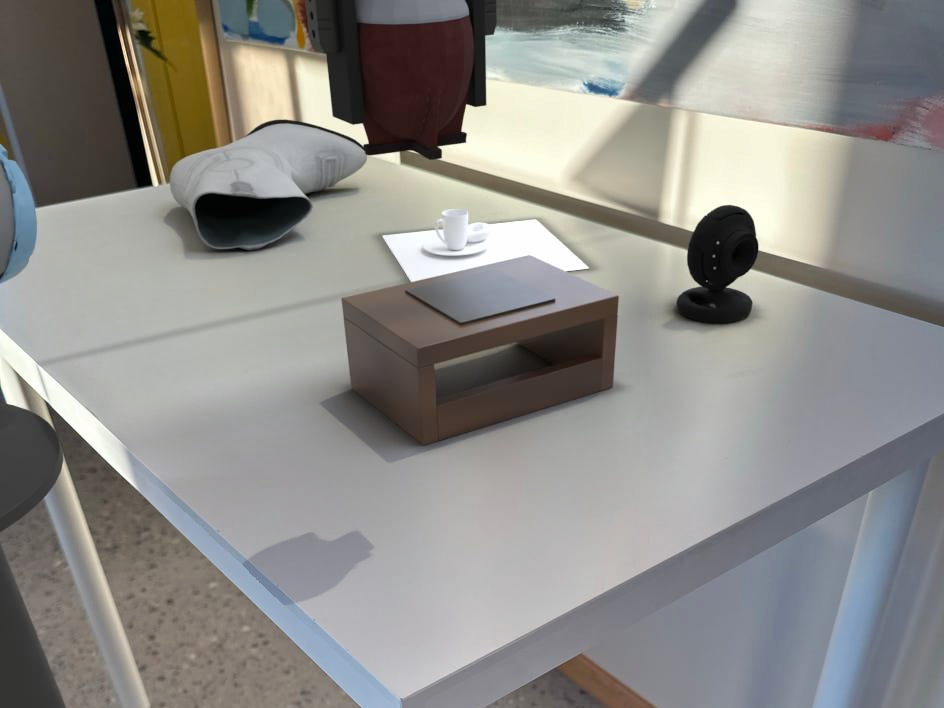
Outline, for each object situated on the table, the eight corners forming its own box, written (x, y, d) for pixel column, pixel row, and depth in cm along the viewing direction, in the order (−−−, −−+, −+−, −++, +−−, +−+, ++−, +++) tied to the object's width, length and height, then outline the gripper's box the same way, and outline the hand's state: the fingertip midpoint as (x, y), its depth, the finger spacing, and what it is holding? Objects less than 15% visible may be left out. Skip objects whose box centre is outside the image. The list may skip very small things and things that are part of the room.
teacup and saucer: (486, 234, 119) (485, 199, 116) (503, 254, 113) (503, 217, 110) (416, 242, 117) (413, 206, 115) (430, 262, 111) (428, 225, 109)
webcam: (709, 330, 94) (723, 222, 87) (659, 307, 99) (669, 203, 92) (768, 313, 97) (786, 207, 90) (716, 292, 102) (730, 190, 95)
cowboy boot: (155, 141, 128) (174, 189, 109) (356, 103, 133) (405, 144, 115) (177, 215, 134) (197, 273, 116) (368, 177, 139) (416, 226, 121)
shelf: (351, 388, 85) (340, 295, 80) (528, 339, 93) (529, 252, 88) (423, 445, 77) (416, 345, 72) (613, 387, 84) (619, 292, 79)
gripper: (169, -555, 35) (270, 147, 49) (617, -491, 42) (590, 100, 57) (115, -500, 40) (221, 122, 54) (524, -452, 47) (521, 81, 62)
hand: (410, 110), depth 55 cm, fingers closed on mate gourd, 7 cm apart
